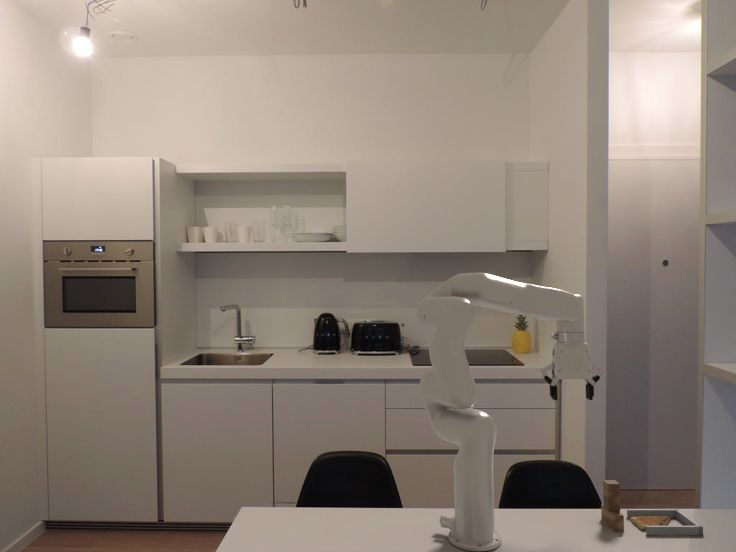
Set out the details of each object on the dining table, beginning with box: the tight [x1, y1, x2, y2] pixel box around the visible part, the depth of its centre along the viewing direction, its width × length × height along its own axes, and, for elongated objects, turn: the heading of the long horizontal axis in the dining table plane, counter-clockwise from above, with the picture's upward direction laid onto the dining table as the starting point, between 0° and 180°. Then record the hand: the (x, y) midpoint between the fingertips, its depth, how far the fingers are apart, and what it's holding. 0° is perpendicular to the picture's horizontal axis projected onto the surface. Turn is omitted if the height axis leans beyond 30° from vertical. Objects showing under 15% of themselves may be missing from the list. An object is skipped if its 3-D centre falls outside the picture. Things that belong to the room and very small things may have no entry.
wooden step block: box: [600, 479, 625, 533], centre depth 143 cm, size 3×8×11 cm, turn 178°
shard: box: [629, 516, 671, 531], centre depth 142 cm, size 11×8×2 cm
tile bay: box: [626, 508, 704, 536], centre depth 142 cm, size 14×12×2 cm
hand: (571, 399), depth 155 cm, fingers open, 9 cm apart
